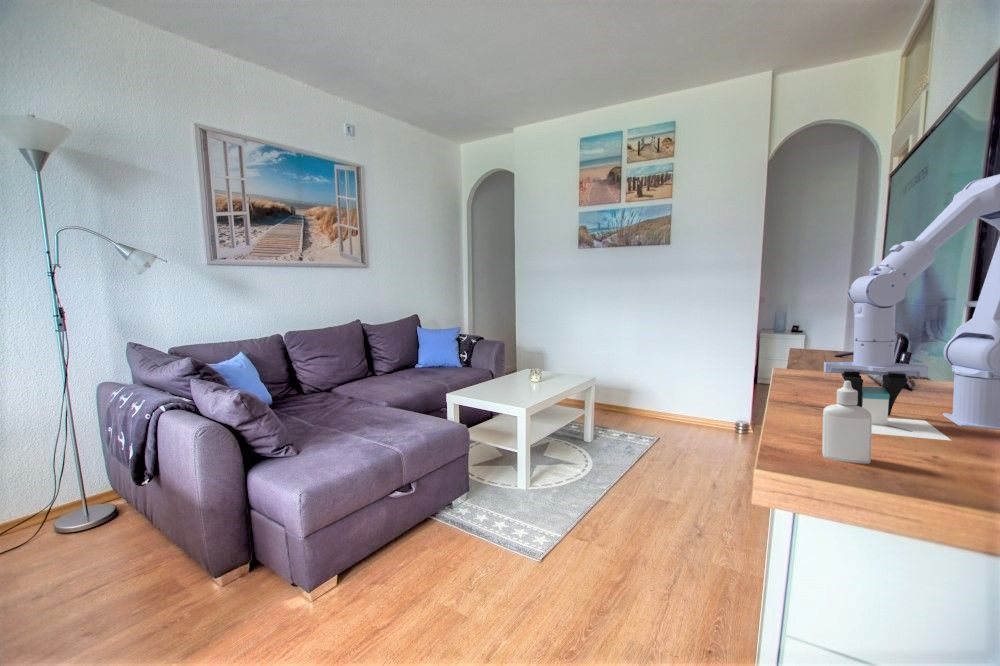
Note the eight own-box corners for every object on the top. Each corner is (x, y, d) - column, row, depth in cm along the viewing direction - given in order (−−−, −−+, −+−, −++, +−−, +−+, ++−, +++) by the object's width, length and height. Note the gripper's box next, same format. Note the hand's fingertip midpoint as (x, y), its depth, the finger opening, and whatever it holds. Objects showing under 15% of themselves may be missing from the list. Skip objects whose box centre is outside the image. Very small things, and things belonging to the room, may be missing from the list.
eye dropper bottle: (861, 469, 62) (863, 386, 61) (817, 457, 67) (818, 380, 66) (875, 462, 64) (877, 382, 63) (831, 451, 69) (833, 376, 68)
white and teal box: (882, 417, 82) (884, 387, 81) (887, 425, 79) (889, 394, 77) (857, 415, 84) (859, 386, 82) (862, 423, 80) (863, 393, 79)
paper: (925, 422, 81) (925, 420, 81) (951, 442, 70) (951, 440, 70) (843, 416, 87) (843, 414, 87) (857, 433, 76) (857, 431, 76)
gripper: (828, 342, 80) (827, 414, 81) (935, 343, 73) (932, 422, 74) (822, 338, 86) (821, 405, 87) (920, 339, 79) (918, 412, 80)
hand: (871, 412), depth 81 cm, fingers closed on white and teal box, 3 cm apart
